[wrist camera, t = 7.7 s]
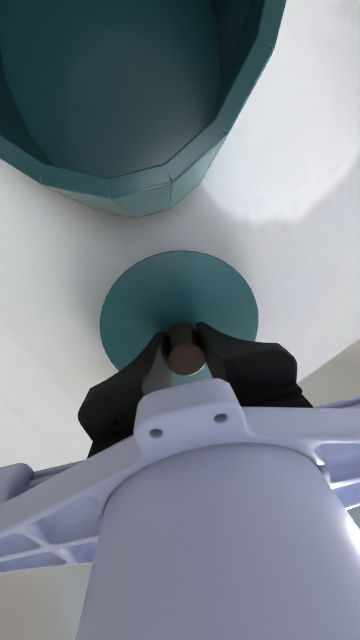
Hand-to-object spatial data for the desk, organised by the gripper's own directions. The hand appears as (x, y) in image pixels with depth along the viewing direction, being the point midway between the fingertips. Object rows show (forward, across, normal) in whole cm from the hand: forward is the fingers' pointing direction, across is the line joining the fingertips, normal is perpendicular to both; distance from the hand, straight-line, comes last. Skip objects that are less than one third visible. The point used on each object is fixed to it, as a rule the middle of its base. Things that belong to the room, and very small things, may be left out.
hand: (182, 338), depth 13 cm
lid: (+1, 0, 0) cm, 1 cm away
